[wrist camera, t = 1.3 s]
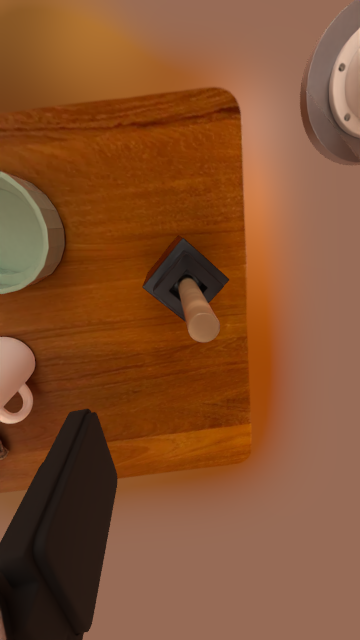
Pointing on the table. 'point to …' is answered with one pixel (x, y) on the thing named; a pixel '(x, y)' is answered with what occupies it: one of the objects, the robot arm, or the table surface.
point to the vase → (176, 264)
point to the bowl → (27, 234)
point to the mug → (15, 377)
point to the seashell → (3, 451)
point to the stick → (197, 311)
